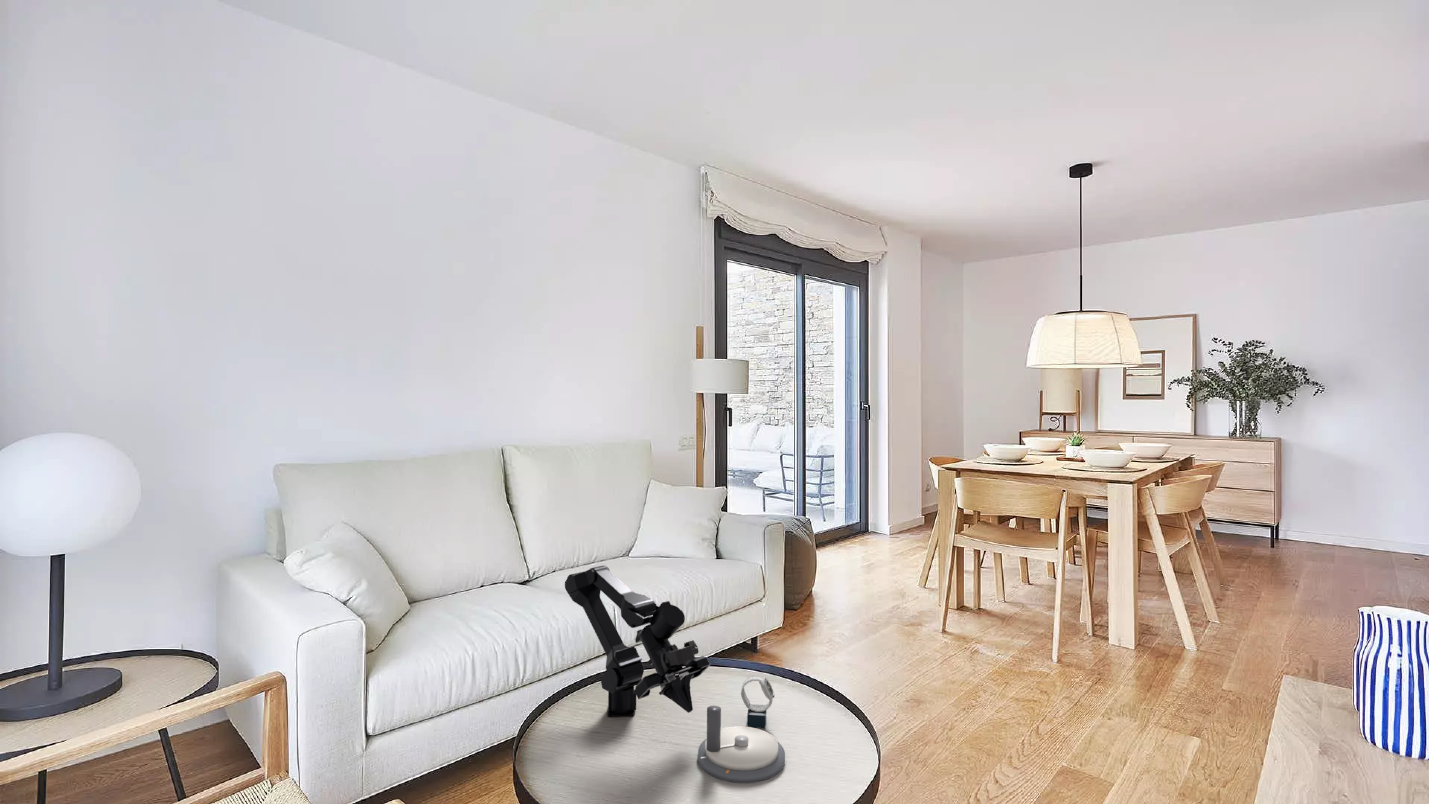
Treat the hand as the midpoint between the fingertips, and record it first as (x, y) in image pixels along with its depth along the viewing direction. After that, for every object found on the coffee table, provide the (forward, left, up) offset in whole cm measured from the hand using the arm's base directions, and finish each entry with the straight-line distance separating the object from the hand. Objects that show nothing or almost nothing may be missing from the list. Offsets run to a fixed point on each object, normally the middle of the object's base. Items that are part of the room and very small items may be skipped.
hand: (690, 711), depth 163 cm
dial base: (+11, -4, -9) cm, 15 cm away
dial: (+11, -4, -7) cm, 14 cm away
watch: (+17, +12, -9) cm, 23 cm away
